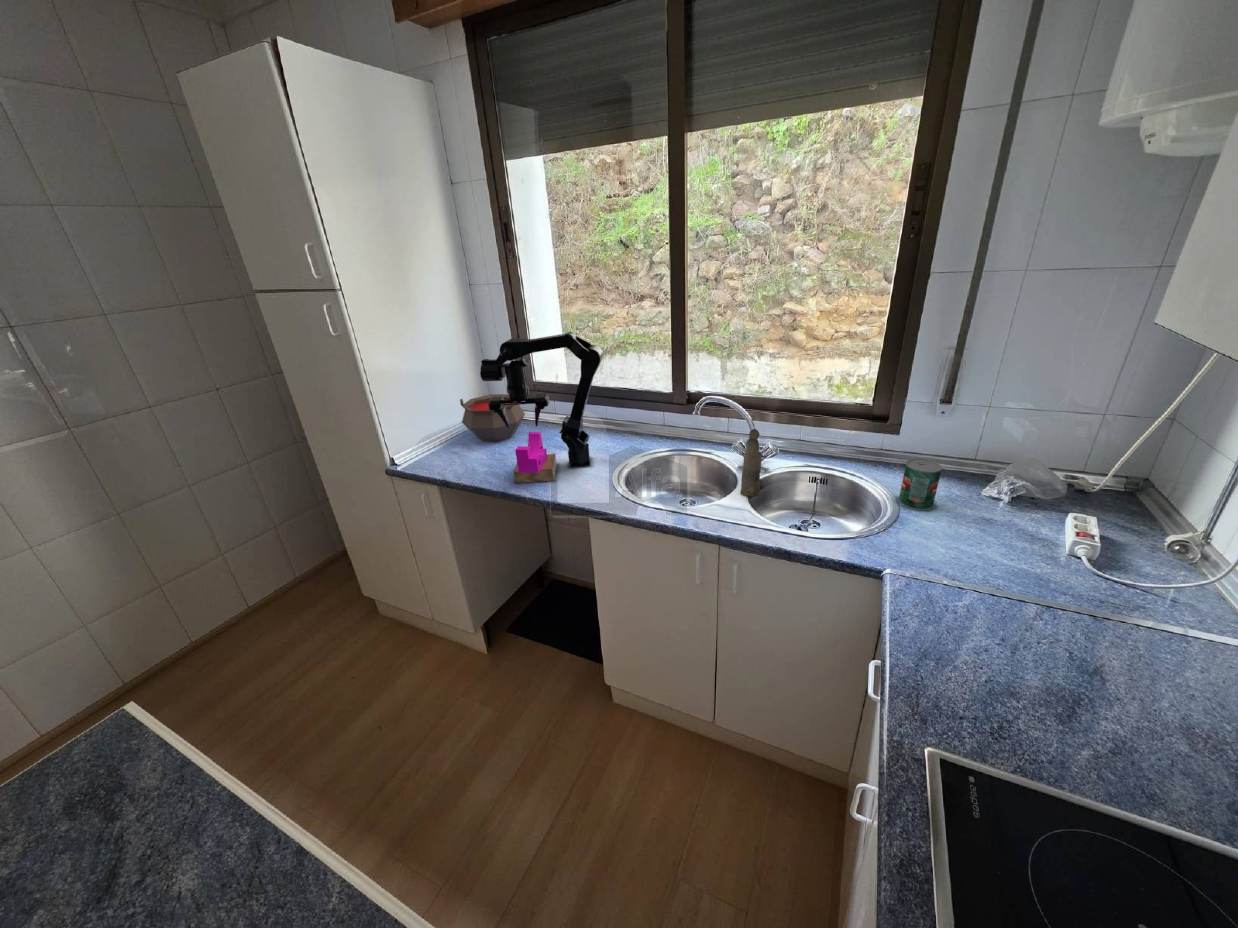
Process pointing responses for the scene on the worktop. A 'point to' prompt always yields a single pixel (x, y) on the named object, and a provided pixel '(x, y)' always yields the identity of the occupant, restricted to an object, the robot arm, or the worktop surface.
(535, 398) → the robot arm
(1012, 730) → the worktop surface
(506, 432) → the brown faceted pot
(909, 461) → the canned tomato
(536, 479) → the plinth
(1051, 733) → the worktop surface
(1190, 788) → the worktop surface
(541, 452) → the toy block
